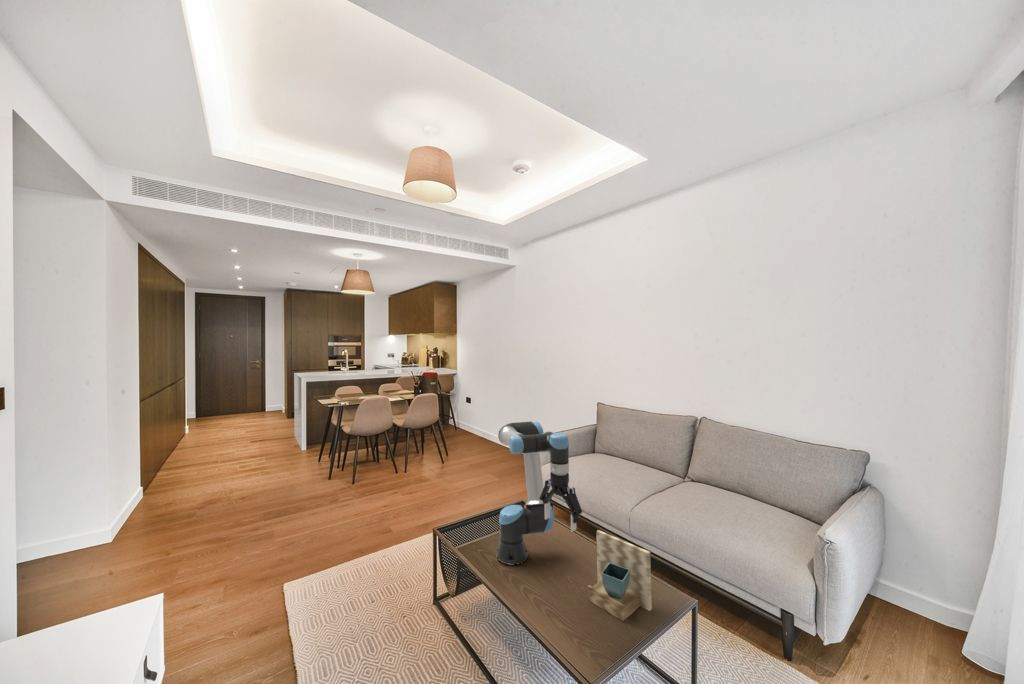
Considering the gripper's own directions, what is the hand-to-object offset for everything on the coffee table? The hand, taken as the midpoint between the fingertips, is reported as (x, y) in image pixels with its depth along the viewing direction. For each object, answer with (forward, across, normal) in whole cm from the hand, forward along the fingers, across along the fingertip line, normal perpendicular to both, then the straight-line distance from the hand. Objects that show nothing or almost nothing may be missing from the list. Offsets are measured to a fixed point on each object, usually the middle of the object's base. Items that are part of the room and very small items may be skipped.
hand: (560, 524), depth 151 cm
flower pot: (+26, +19, +12) cm, 34 cm away
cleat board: (+29, +17, +12) cm, 36 cm away
